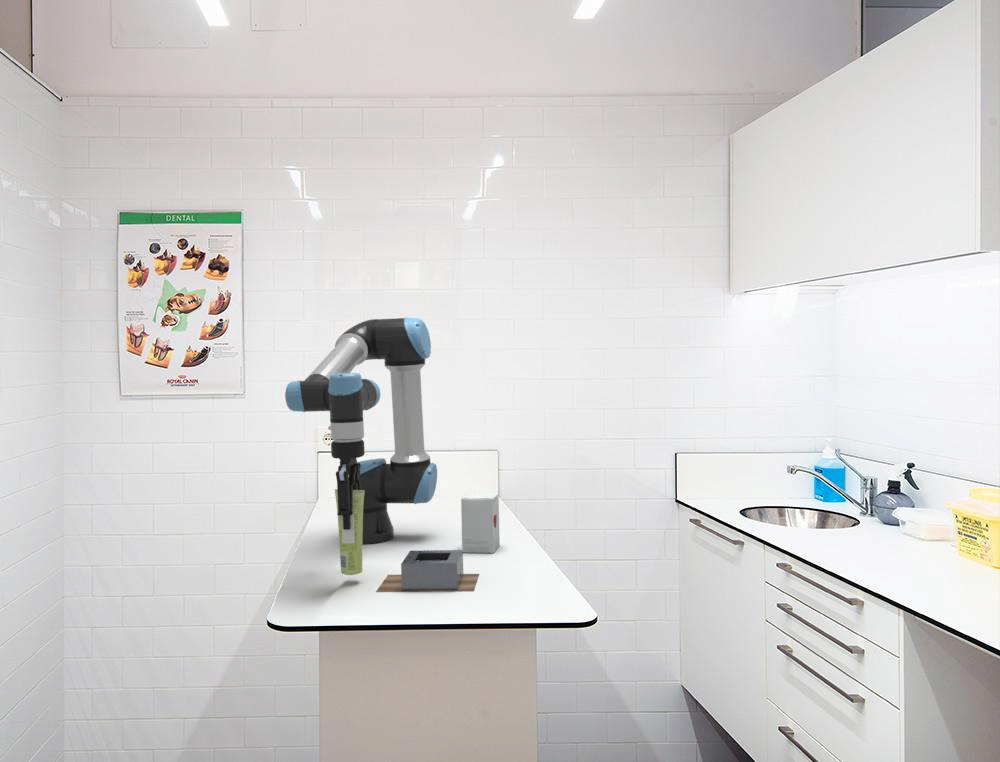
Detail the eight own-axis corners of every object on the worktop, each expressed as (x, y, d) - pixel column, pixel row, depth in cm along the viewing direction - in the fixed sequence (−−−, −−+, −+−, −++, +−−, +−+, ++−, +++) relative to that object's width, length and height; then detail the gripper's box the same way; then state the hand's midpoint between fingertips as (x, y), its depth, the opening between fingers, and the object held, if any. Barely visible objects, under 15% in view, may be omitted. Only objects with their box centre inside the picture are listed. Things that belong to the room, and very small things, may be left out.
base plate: (388, 579, 190) (388, 574, 190) (479, 578, 189) (479, 573, 189) (375, 597, 176) (375, 592, 176) (474, 596, 175) (473, 591, 175)
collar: (411, 575, 189) (410, 550, 189) (463, 575, 188) (462, 550, 188) (401, 590, 177) (401, 563, 177) (457, 589, 176) (456, 563, 176)
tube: (361, 567, 188) (358, 486, 187) (368, 573, 183) (364, 489, 182) (338, 571, 185) (334, 489, 184) (343, 577, 181) (340, 492, 180)
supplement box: (494, 553, 213) (492, 498, 212) (461, 553, 214) (460, 498, 214) (500, 545, 221) (499, 492, 221) (469, 545, 223) (468, 492, 223)
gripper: (341, 435, 192) (345, 531, 193) (320, 445, 174) (324, 550, 175) (372, 435, 191) (375, 531, 192) (354, 444, 174) (358, 549, 175)
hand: (351, 539), depth 184 cm, fingers closed on tube, 4 cm apart
